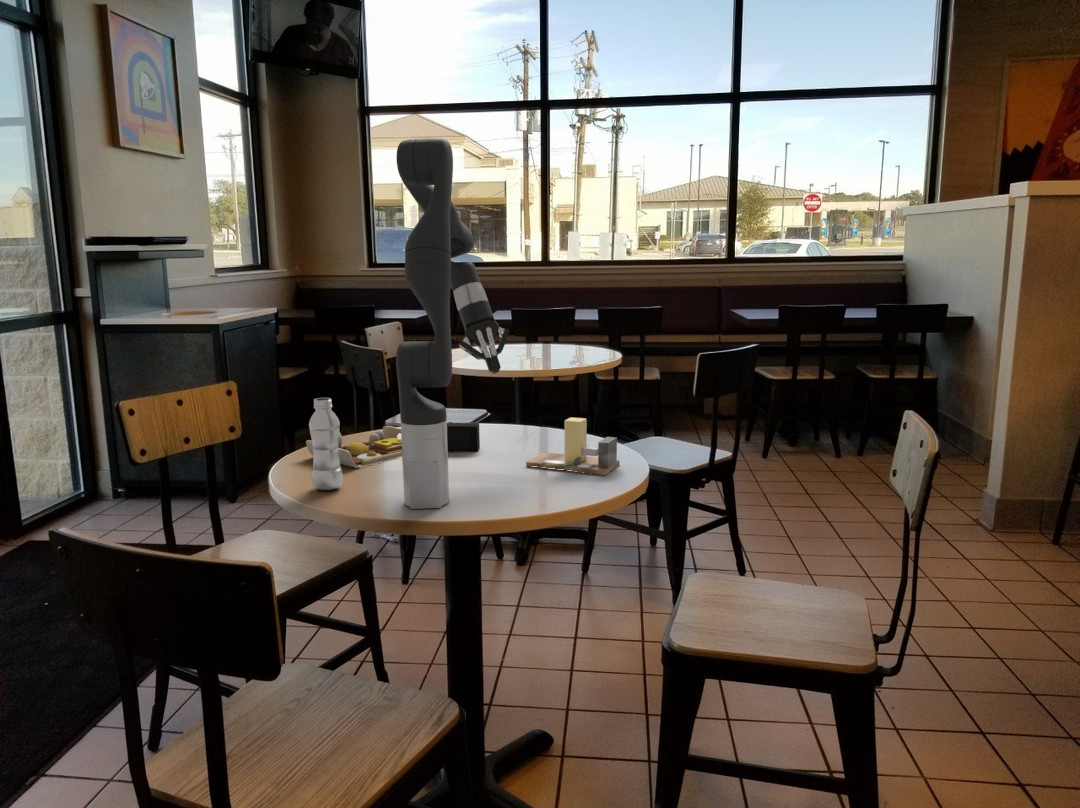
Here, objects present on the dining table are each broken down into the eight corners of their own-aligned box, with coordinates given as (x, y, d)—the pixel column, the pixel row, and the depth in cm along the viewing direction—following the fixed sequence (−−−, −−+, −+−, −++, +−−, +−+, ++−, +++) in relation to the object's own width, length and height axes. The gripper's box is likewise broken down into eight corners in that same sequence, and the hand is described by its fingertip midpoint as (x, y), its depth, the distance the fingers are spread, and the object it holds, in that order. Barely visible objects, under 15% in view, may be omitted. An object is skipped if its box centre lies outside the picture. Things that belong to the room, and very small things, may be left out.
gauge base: (526, 466, 189) (525, 437, 187) (543, 456, 198) (543, 428, 196) (604, 475, 180) (605, 445, 179) (619, 465, 189) (619, 435, 188)
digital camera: (480, 447, 208) (480, 421, 207) (478, 452, 203) (477, 425, 202) (442, 447, 209) (441, 421, 208) (438, 452, 204) (437, 425, 202)
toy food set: (349, 473, 187) (347, 441, 185) (305, 460, 198) (303, 431, 197) (429, 452, 205) (428, 423, 204) (385, 441, 217) (384, 414, 216)
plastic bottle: (331, 483, 177) (325, 395, 173) (349, 488, 173) (344, 398, 169) (306, 489, 172) (300, 399, 168) (325, 495, 168) (319, 403, 164)
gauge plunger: (561, 463, 186) (560, 422, 184) (571, 457, 191) (571, 417, 189) (591, 467, 182) (591, 425, 181) (600, 460, 188) (600, 419, 186)
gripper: (447, 308, 185) (471, 377, 183) (501, 293, 188) (524, 361, 186) (445, 317, 192) (468, 383, 190) (496, 302, 195) (519, 368, 193)
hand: (496, 372), depth 188 cm, fingers closed
